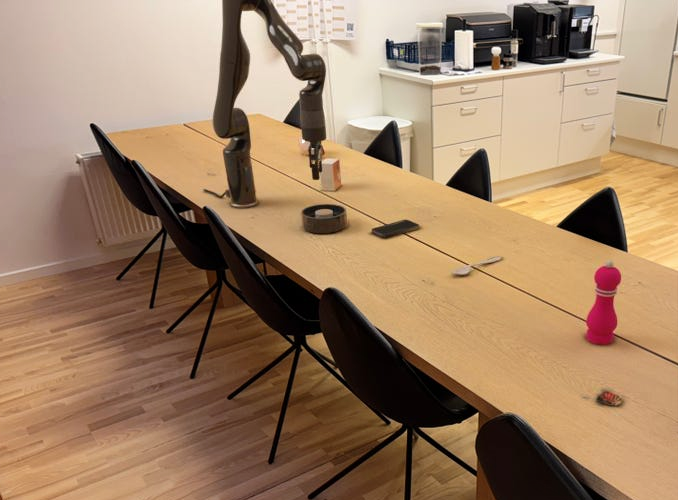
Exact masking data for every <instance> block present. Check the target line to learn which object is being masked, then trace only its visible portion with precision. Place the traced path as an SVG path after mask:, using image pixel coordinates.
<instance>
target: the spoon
mask: <svg viewBox="0 0 678 500" xmlns="http://www.w3.org/2000/svg"><path fill="white" fill-rule="evenodd" d="M501 260H502V256H501V257H500V256H496V257H493V258H489V259H487V260H484V261H480V262H476V263H473V264H468V265H465V266H461V267H458V268H456V269H454V270H451V273H452V274H454V275H458V276H465V275H468V274H469V273H470V272H471V267H474V266H478V265H484V264H490V263H496V262H498V261H501Z"/></svg>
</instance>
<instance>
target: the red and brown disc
mask: <svg viewBox="0 0 678 500" xmlns="http://www.w3.org/2000/svg"><path fill="white" fill-rule="evenodd" d="M621 398H622V396H621V395H619V394H617V393H614V391H610V390H608V389H604V390H603V391H602V392H601V393H600V394H599V395H597V398H596V401H598V402H599V403H601V404H602V403H603V404H605V405H609V406H619V405H621V402H622V400H620V399H621Z"/></svg>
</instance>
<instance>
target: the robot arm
mask: <svg viewBox="0 0 678 500" xmlns="http://www.w3.org/2000/svg"><path fill="white" fill-rule="evenodd" d="M221 5H222V6H221V8H222V12H221V14H222V30H221V43H220V44H221V45H220V54H219V66H218V68H219V69H218V81H217V91H216V96H215V103H214V108H213V113H212V128H213V131H214V133H215V135H216V136H217V137H218V138H220V139H222V140H229V139H230V140H229V142H228V143H227V144H226V146H224V148H223V149H222V157H223V162H224V169H225V174H226V175H225V176H226V183H227V189H225V190H224V191H225V192H223V193H222V194H221V195H220V194H218V193H217V192H215V191H212V190H210V189H206V188H203V190H202V191H204V192H206V193H209V194H212V195H214V196H215V197H217V198H220V199H221V198H224V197H226V198H228V199H229V200H230V206H231V207H233V208H237V209H238V208H239V209H245V208H251V207H254V206H256V205H258V198H257V189H256V185H255V184H256V183H255V178H254V177H255V176H254V170H253V164H252V157H251V156H252V155H251V149H252V140H251V129H250V122H249V118H248V116H247V113H246V112H245V111H244V110H243V109H242V108H240V107H235V103H236V101H237V99H238V96H239V94H240V93H241V91H242V89H243V88H244V87H245V85H246V82H247V81H248V78H249V76H250V65H251V53H250V49H249V46H248V44H247V42H246V40H245V38H244V35H243V33H242V32H243V31H242V26H241V25H242V14H243V12H255V14H257V15H258V16H259V17H260V18H262V20H263V21H264V24H265V29H266V34H267V37H268V39H269V41H270V43H271V45H273V47H274V48H275V49H276V50H277V51H278V53H280V54H281V56H282V57H283V59H284V61H285V63H286V65H287V67H288V69H289V71H290V73H291V75H292V76H293V77H294V78H295V79H296V80H298V81H301V82H306V81H307V83H306V85H305V87H303V88H301V89H300V90H299V93H298V97H299V108H300V113H299V114H300V117H299V118H300V128H301V129H300V130H301V136H302V139H303V140H304V141H308V142H310V145H309V147H308V151H309V155H308V161H309V168H310V169H311V179H312V180H313V181H319V180H320V172H322V161H323V156H324V155H323V154H322V146H323V144H322V142H324V141H326V140H327V126H326V116H325V111H324V99H323V94H324V89H325V84H326V83H325V82H326V76H327V66H326V63H325V60H324V59H323V57H322V56H321V55H320V54H319V53H307V54H302V53H303V51H304V44H303V42H302V40H301V39H300V38H299V37H298V36H297V35H296V34H295V32H294V31H293V30H292V29H291V27H290V26H289V25H288V24H287V23H286V22H285V20H284V19H283V18H282V17H281V15H280V13H279V12H278V10H277V8H276V7H275V5H274V3H273V1H272V0H221ZM322 155H323V156H322Z"/></svg>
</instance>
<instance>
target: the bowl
mask: <svg viewBox="0 0 678 500" xmlns="http://www.w3.org/2000/svg"><path fill="white" fill-rule="evenodd" d="M321 209H329V210H332V211H333V217H328V218H316V216H315V212H316V211H317V210H321ZM300 216H301V226H302V227H301V228H302V229H304V230H305V231H307V232H309V233H312V234H321V235H323V234H325V235H326V234H333V233H336V232H339V231H342V230H344V229H345V228H347V226H348V215H347V208H345V206H343V205H339V204H334V203H320V204H314V205H309V206H307V207H304V208H303V209H302V210H300Z"/></svg>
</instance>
